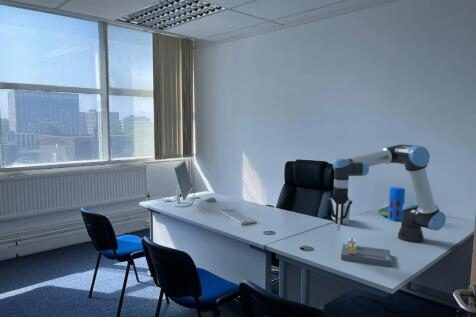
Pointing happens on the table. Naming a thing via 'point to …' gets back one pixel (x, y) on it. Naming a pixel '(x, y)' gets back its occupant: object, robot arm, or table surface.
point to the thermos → (396, 203)
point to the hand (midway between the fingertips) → (338, 230)
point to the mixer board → (368, 255)
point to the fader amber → (352, 249)
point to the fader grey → (351, 241)
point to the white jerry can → (345, 220)
